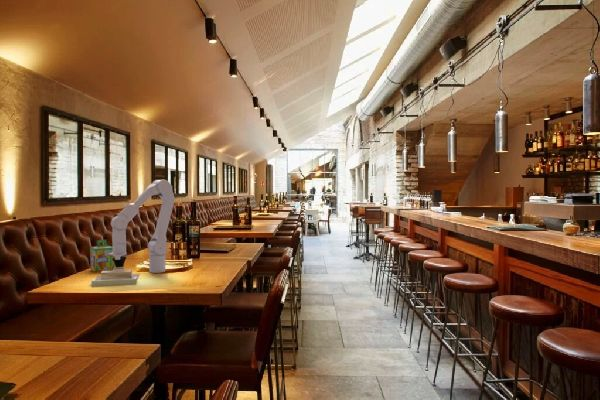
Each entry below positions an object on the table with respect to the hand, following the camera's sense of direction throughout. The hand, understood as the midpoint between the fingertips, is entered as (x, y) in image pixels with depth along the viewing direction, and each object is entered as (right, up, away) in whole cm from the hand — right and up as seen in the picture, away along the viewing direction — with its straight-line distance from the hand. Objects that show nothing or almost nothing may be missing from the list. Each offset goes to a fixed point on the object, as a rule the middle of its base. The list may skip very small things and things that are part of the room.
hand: (119, 273), depth 212 cm
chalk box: (-15, -2, +17) cm, 22 cm away
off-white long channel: (+4, -2, -17) cm, 18 cm away
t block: (+2, -1, -7) cm, 8 cm away
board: (+2, -2, -9) cm, 9 cm away
